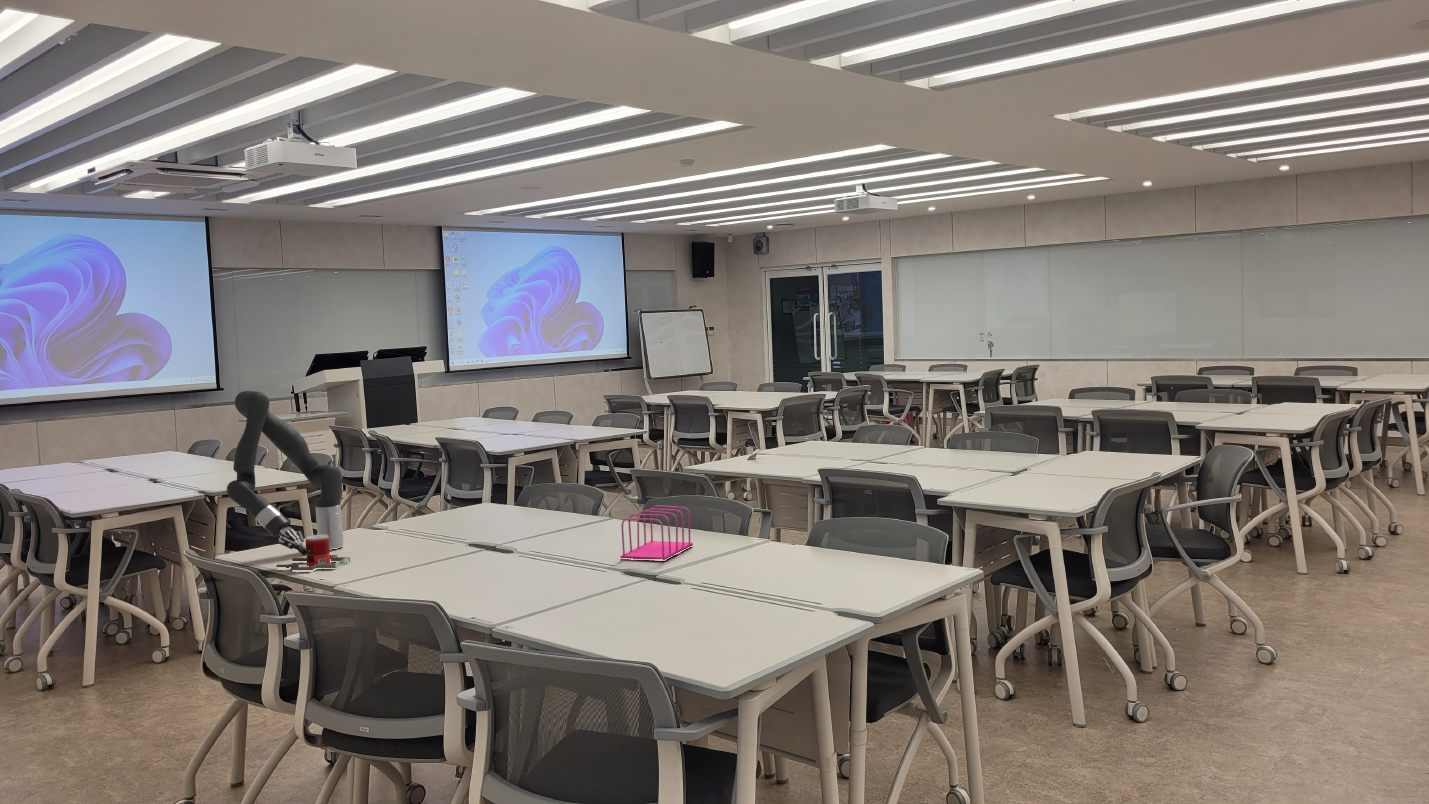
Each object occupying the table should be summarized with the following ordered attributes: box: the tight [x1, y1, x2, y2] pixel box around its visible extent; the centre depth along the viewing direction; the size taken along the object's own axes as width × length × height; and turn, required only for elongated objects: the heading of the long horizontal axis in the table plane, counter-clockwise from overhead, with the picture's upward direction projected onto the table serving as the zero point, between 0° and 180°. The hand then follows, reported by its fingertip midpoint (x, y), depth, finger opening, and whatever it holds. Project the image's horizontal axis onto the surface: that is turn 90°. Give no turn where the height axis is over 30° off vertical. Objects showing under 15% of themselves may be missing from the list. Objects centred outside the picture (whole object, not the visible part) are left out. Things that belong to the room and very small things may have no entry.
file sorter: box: [620, 504, 694, 560], centre depth 351 cm, size 17×25×16 cm
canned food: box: [304, 534, 331, 567], centre depth 351 cm, size 8×8×11 cm
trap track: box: [276, 554, 351, 571], centre depth 352 cm, size 19×22×2 cm
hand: (306, 553), depth 352 cm, fingers closed
